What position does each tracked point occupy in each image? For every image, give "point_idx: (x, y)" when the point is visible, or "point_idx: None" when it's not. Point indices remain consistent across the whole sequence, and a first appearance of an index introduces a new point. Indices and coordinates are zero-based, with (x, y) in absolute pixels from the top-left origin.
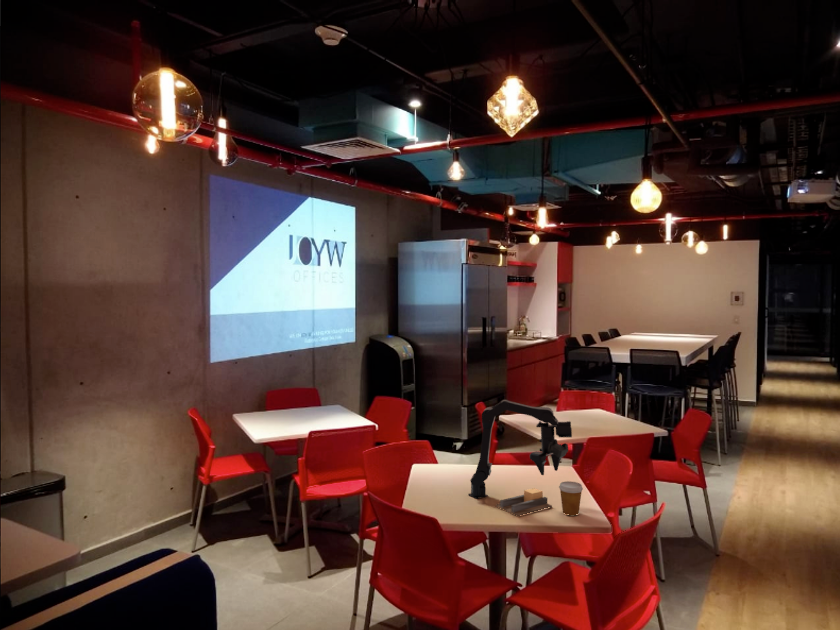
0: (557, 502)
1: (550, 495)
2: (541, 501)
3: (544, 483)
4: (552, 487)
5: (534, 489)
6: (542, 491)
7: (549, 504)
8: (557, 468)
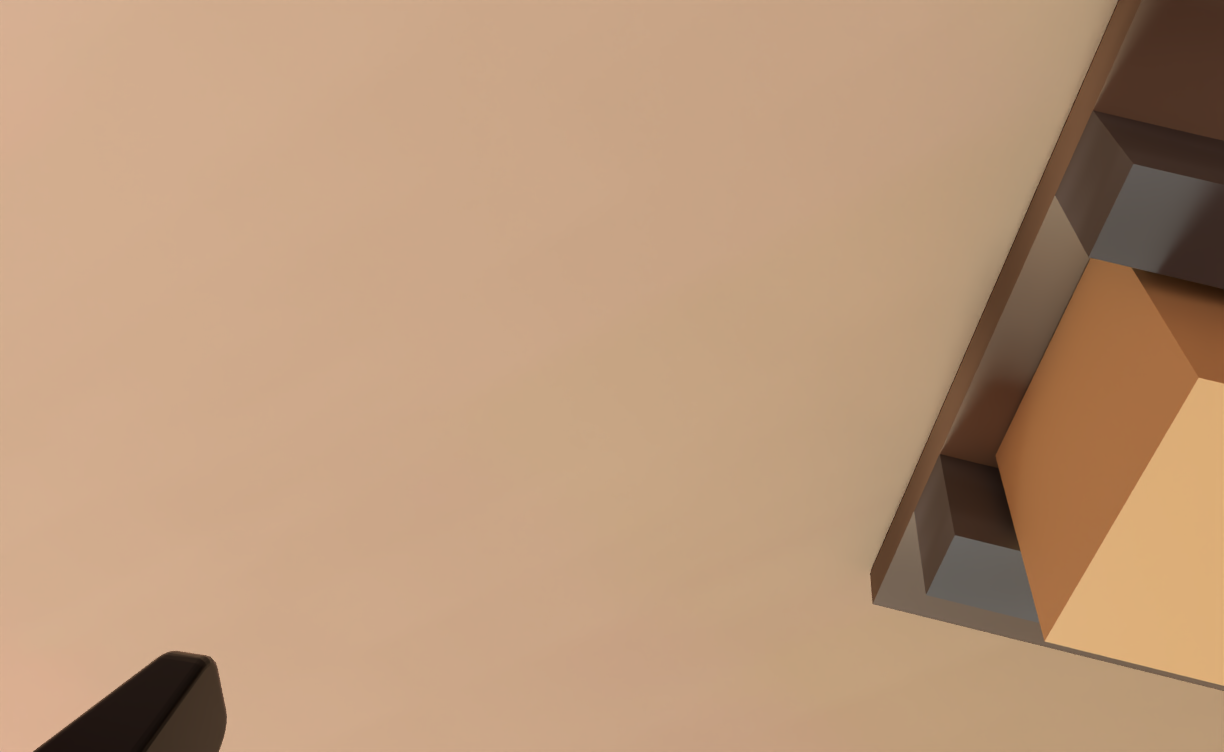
0: (668, 46)
1: (399, 376)
2: None
3: (20, 687)
4: (38, 535)
5: (1170, 594)
6: (1201, 373)
7: (1129, 31)
8: (106, 727)
